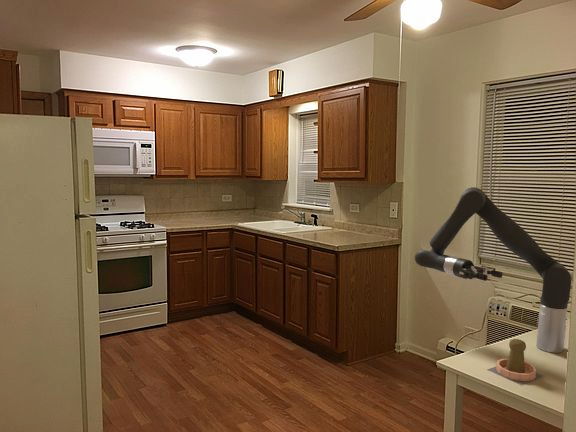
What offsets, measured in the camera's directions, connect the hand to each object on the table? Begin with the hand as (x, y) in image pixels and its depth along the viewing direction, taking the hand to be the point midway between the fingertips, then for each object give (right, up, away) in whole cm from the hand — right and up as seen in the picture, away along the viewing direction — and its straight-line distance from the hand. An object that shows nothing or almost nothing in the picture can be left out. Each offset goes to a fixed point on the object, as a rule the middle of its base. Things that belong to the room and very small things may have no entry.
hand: (494, 276), depth 176 cm
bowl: (+2, -32, -12) cm, 34 cm away
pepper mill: (+2, -31, -12) cm, 33 cm away
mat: (+2, -32, -12) cm, 34 cm away
